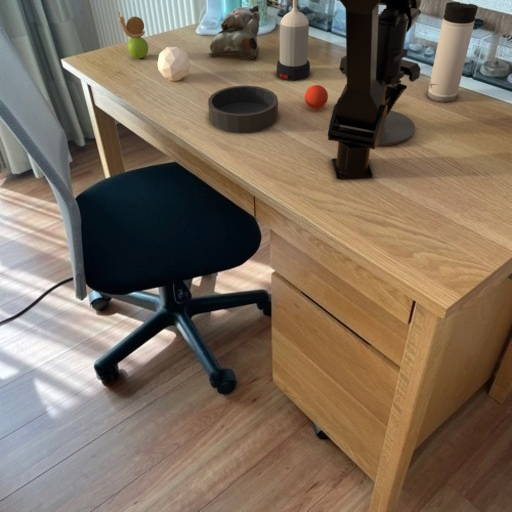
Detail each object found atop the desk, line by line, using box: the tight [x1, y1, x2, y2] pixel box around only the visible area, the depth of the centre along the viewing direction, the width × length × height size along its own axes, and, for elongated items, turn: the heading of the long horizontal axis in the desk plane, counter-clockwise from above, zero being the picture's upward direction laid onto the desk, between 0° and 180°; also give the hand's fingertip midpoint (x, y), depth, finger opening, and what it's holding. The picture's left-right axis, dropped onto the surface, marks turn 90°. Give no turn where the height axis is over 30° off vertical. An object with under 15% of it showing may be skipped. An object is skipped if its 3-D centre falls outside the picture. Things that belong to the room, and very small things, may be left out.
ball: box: [304, 84, 329, 110], centre depth 115 cm, size 5×5×5 cm
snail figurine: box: [116, 11, 149, 59], centre depth 137 cm, size 5×6×12 cm
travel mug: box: [427, 1, 479, 103], centre depth 113 cm, size 6×7×20 cm
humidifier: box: [276, 0, 311, 82], centre depth 123 cm, size 8×8×25 cm
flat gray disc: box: [340, 109, 416, 146], centre depth 107 cm, size 15×15×5 cm
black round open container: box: [207, 85, 279, 134], centre depth 112 cm, size 15×15×4 cm
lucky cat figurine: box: [206, 5, 261, 59], centre depth 137 cm, size 15×12×14 cm
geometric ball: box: [156, 46, 191, 82], centre depth 127 cm, size 8×8×8 cm
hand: (377, 122), depth 107 cm, fingers closed on flat gray disc, 2 cm apart
